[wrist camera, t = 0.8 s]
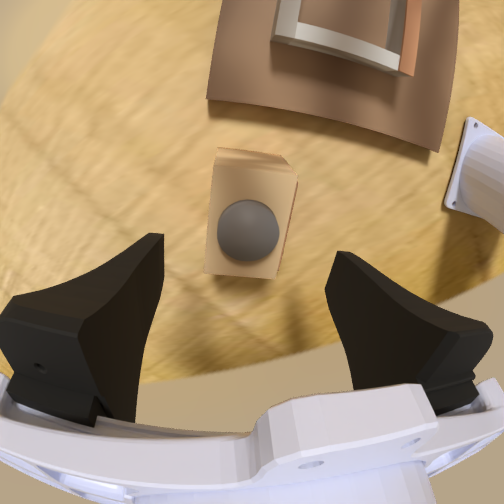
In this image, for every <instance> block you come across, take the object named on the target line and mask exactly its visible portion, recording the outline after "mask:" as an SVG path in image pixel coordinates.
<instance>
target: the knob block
mask: <svg viewBox="0 0 504 504" xmlns="http://www.w3.org/2000/svg"><path fill="white" fill-rule="evenodd" d="M297 179H298V175H297V174H296V173H295V171H294V170H293V169H292V168H291V167H290V165H289V164H288V163H287V162H286V160H285V159H284V158H283V157H282V156H281V155H276V154H269V153H262V152H255V151H247V150H239V149H230V148H221V147H218V149H217V153H216V157H215V162H214V167H213V176H212V185H211V195H210V205H209V215H208V226H207V238H206V250H205V263H204V273H206V274H217V275H228V276H240V277H252V278H265V279H275V278H276V274H277V271H279V267H280V263H281V259H282V254H283V250H284V246H285V241H286V237H287V232H288V228H289V223H290V219H291V214H292V210H293V205H294V200H295V196H296V191H297V186H298V182H297Z"/></svg>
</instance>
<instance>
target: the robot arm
mask: <svg viewBox="0 0 504 504" xmlns="http://www.w3.org/2000/svg"><path fill="white" fill-rule="evenodd" d="M474 124H475V127H474ZM453 202H454V203H453ZM452 203H453V204H452ZM444 205H445V206H446V207H448V208H450V209H454V210H457V211H460V212H464V213H467V214H470V215H474V216H477V217H480V218H483V219H485V220H486V221H487V222H489V223H490V224H491V225H493V226H494V227H495V228H497V229H498V230H499V231H500V232H502V233H503V234H504V137H502V136H501V135H499V134H498V133H496V132H495V131H493V130H492V129H490V128H489V127H487V126H486V125H484V124H483V123H481V122H479V121H478V120H476V119H474V118H472V117H468V118H467V119H466V123H465V127H464V132H463V136H462V141H461V145H460V149H459V153H458V156H457V160H456V164H455V167H454V171H453V174H452V178H451V181H450V184H449V187H448V191H447V194H446V197H445V200H444ZM163 281H164V234H158V233H148V234H147V235H145V236H144V237H142V238H141V239H140V240H138V241H137V242H135V243H134V244H133V245H131V246H130V247H129V248H127V249H126V250H124V251H123V252H122V253H120V254H118V255H117V256H115V257H114V258H112V259H111V260H109V261H108V262H106V263H104V264H103V265H101V266H99V267H97V268H96V269H94V270H92V271H90V272H88V273H86V274H84V275H81V276H79V277H77V278H74V279H72V280H69V281H67V282H65V283H62V284H59V285H56V286H53V287H50V288H46V289H43V290H39V291H35V292H31V293H26V294H21V295H16V296H13V297H12V299H11V300H10V302H9V303H8V304H7V306H6V307H5V309H4V310H3V311H2V313H1V314H0V349H1V350H2V352H3V354H4V356H5V357H6V359H7V361H8V362H9V364H10V366H11V367H12V369H13V370H14V374H13V376H12V378H11V380H10V378H8V377H7V376H6V375H5V374H3V373H1V372H0V461H2V462H4V463H6V464H7V465H10V466H11V467H13V468H15V469H17V470H19V471H21V472H23V473H25V474H27V475H29V476H31V477H33V478H35V479H38V480H40V481H42V482H44V483H47V484H49V485H51V486H54V487H56V488H58V489H61V490H63V491H66V492H68V493H71V494H74V495H77V496H79V497H82V498H85V499H88V500H91V501H94V502H98V503H101V504H437V503H436V500H435V496H434V493H433V490H432V487H431V484H430V481H429V478H430V477H432V476H434V475H436V474H438V473H440V472H442V471H444V470H446V469H448V468H450V467H452V466H454V465H455V464H457V463H459V462H461V461H463V460H464V459H466V458H468V457H470V456H472V455H473V454H475V453H477V452H478V451H480V450H482V449H483V448H484V447H485V446H487V445H488V444H489V443H491V442H492V441H493V440H494V439H496V438H497V437H498V436H499V435H500V434H501V433H503V432H504V393H503V391H502V389H501V387H500V386H499V384H498V382H497V381H496V379H495V378H494V377H493V378H490V379H487V380H485V381H482V382H480V383H478V384H477V385H476V386H475V385H474V384H473V381H472V380H474V379H475V374H474V372H473V369H474V368H475V367H476V365H477V364H478V363H479V362H480V360H481V359H482V358H483V357H484V355H485V354H486V352H487V351H488V349H489V348H490V346H491V344H492V340H493V332H492V331H491V330H490V329H489V327H488V326H487V325H486V324H485V323H484V322H481V321H477V320H474V319H471V318H467V317H464V316H460V315H458V314H455V313H452V312H450V311H447V310H445V309H442V308H440V307H438V306H436V305H434V304H432V303H430V302H427V301H426V300H424V299H422V298H420V297H418V296H416V295H415V294H413V293H411V292H409V291H408V290H406V289H404V288H403V287H401V286H400V285H398V284H397V283H395V282H394V281H392V280H391V279H389V278H388V277H387V276H385V275H384V274H382V273H381V272H380V271H378V270H377V269H375V268H374V267H373V266H371V265H370V264H368V263H367V262H366V261H364V260H363V259H361V258H360V257H358V256H356V255H355V254H353V253H351V252H345V251H337V254H336V257H335V260H334V263H333V266H332V269H331V272H330V275H329V278H328V281H327V284H326V286H325V294H326V298H327V303H328V307H329V310H330V313H331V315H332V318H333V321H334V323H335V326H336V328H337V331H338V333H339V336H340V339H341V341H342V344H343V347H344V349H345V353H346V356H347V360H348V364H349V368H350V372H351V378H352V383H353V389H354V390H353V391H343V392H332V393H318V394H311V395H306V396H300V397H295V398H290V399H288V400H285V401H283V402H281V403H278V404H276V405H274V406H271V407H270V408H269V409H268V410H267V411H266V412H265V413H264V414H263V415H262V416H261V417H260V418H259V419H258V420H257V421H256V424H255V427H254V429H253V431H252V432H245V433H231V432H228V433H227V432H206V431H193V430H182V429H173V428H172V429H171V428H164V427H157V426H150V425H143V424H137V423H135V417H136V405H137V394H138V386H139V378H140V371H141V365H142V359H143V353H144V348H145V344H146V340H147V336H148V333H149V330H150V327H151V324H152V321H153V318H154V315H155V312H156V309H157V306H158V303H159V300H160V296H161V291H162V287H163Z"/></svg>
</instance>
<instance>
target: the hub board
mask: <svg viewBox="0 0 504 504" xmlns="http://www.w3.org/2000/svg"><path fill="white" fill-rule="evenodd" d="M458 27H459V0H223V1H222V6H221V11H220V16H219V21H218V27H217V32H216V38H215V43H214V49H213V55H212V61H211V68H210V74H209V81H208V88H207V95H206V99H210V100H221V101H230V102H239V103H247V104H254V105H261V106H267V107H274V108H279V109H285V110H291V111H296V112H301V113H306V114H311V115H315V116H320V117H324V118H328V119H333V120H337V121H341V122H345V123H349V124H352V125H356V126H360V127H363V128H367V129H370V130H373V131H377V132H380V133H383V134H386V135H390V136H393V137H396V138H399V139H402V140H405V141H407V142H410V143H413V144H416V145H419V146H421V147H424V148H427V149H429V150H432V151H434V152H437V153H439V149H440V145H441V141H442V137H443V132H444V128H445V123H446V118H447V114H448V108H449V103H450V97H451V92H452V85H453V78H454V71H455V63H456V54H457V42H458Z"/></svg>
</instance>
